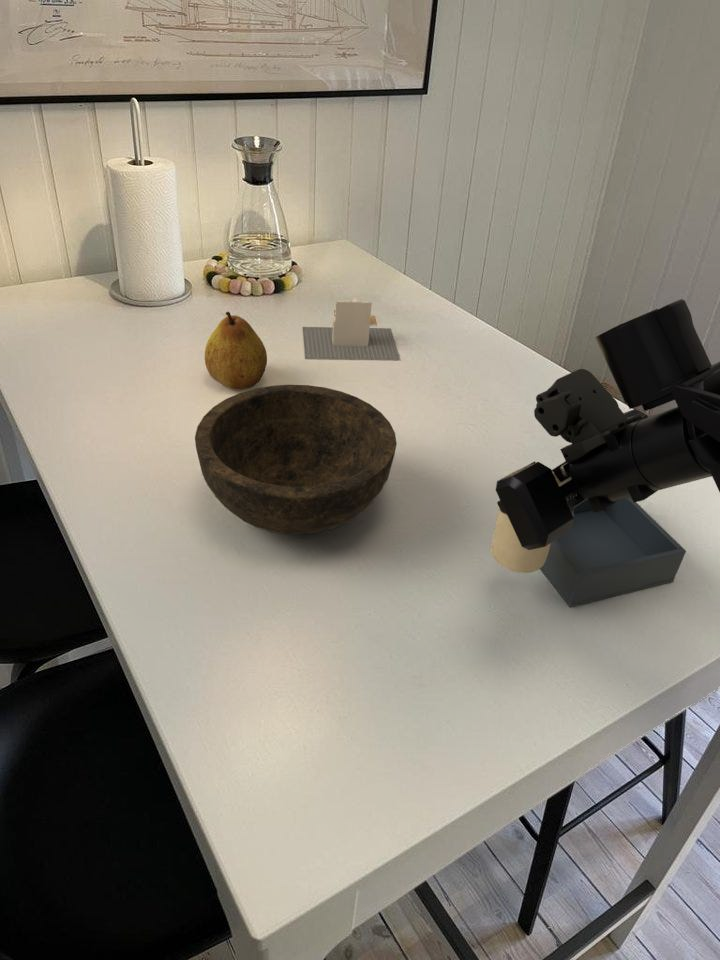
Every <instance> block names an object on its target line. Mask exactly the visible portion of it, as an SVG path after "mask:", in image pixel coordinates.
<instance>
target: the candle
mask: <svg viewBox="0 0 720 960" xmlns="http://www.w3.org/2000/svg"><path fill="white" fill-rule="evenodd" d="M517 470H518V469H516V470H514V471H512V472H510V473H509V474H508V475H510V474H511V473H513V472H515V471H517ZM552 472H553V471H552ZM553 474H554V472H553ZM554 476H555V478H556V481H557V483H558V484H559V483H561V482H560V481H559V480H558V478H557V477H556V475H555V474H554ZM492 535H493V536H492V541H491V545H490V553H491V556H492V558H493V559H494V561H495V562H496V563H497V564H498V565H499V566H501V567H503V568H504V569H506V570H509V571H511V572H516V573H520V574H521V573H523V574H527V573H529V574H530V573H533V572H536V571H539V570H540V568H541V567H542V566H543V565H544V563H545V561H546V558H547V555H548V551H549V548H550V544H551V543H550V544H549V545H547V546H546V547H542V548H537V549H533V550H528V549H525V548H523V547H522V546H521V544H520V542H519V540H518V537H517V535H516V533H515V531H514V529H513V527H512V524H511V522H510V520H509V518H508V516H507V514H504V513H502V512H501V511H500V508H499V507H498V513H497V516H496V521H495V525H494V531H493V534H492Z"/></svg>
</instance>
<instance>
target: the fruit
mask: <svg viewBox="0 0 720 960" xmlns="http://www.w3.org/2000/svg"><path fill="white" fill-rule="evenodd" d="M205 344H206V346H205V350H204V364H205V367H206V370H207V372H208V373H209V375H210V377H211V378H212V379H214V381H216V382H218V383H220V384H222V385H223V386H224V387H226V388H227V389H231V390H238V391H239V390H245V389H250V388H253V387H255V386H256V385H257V384H259V382H260V381H262V378H263V376H264V375H265V372H266V369H267V364H268V354H267V349H266V348H265V347H266V346H265V344H264V342H263V341H262V339H261V338H260V336H259V335H258V334H257V333H256V331H255V330H254V328H253V327H252V326H251V324H250V323H249V322H248V321H247V320H246V319H244V318H243V317H241V316H238V315H235V314H234V315H231V312H230V311H226V312H225V317H224V318H223V319H222V320H220V321H219V323H218V324H217V326H216V327H215V329H214V330H213V331H212V332H211V334H210V336H209V338H208V340H207V341H206V343H205Z"/></svg>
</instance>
